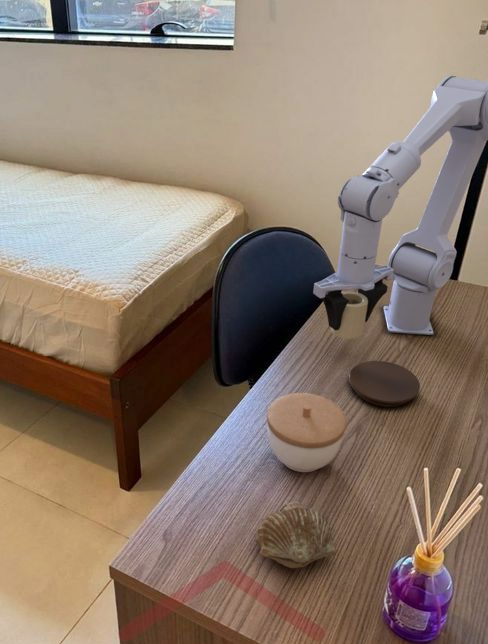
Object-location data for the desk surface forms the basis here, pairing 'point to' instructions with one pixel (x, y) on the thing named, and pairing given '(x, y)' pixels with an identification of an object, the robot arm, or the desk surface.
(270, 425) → the trinket box
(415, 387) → the stand
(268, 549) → the seashell
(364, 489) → the desk surface
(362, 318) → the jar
